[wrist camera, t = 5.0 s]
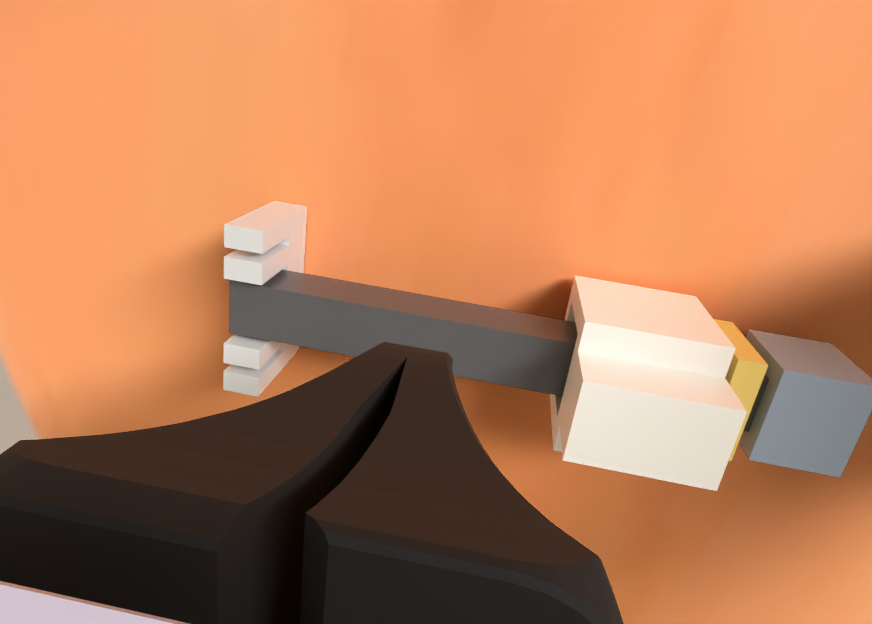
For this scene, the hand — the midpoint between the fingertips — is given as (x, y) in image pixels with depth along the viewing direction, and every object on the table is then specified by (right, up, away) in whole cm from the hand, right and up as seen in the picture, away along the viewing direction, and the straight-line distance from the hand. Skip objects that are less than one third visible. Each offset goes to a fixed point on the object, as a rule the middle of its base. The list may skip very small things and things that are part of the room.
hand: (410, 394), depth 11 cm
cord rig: (+4, +1, +10) cm, 11 cm away
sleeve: (+7, 0, +10) cm, 12 cm away
